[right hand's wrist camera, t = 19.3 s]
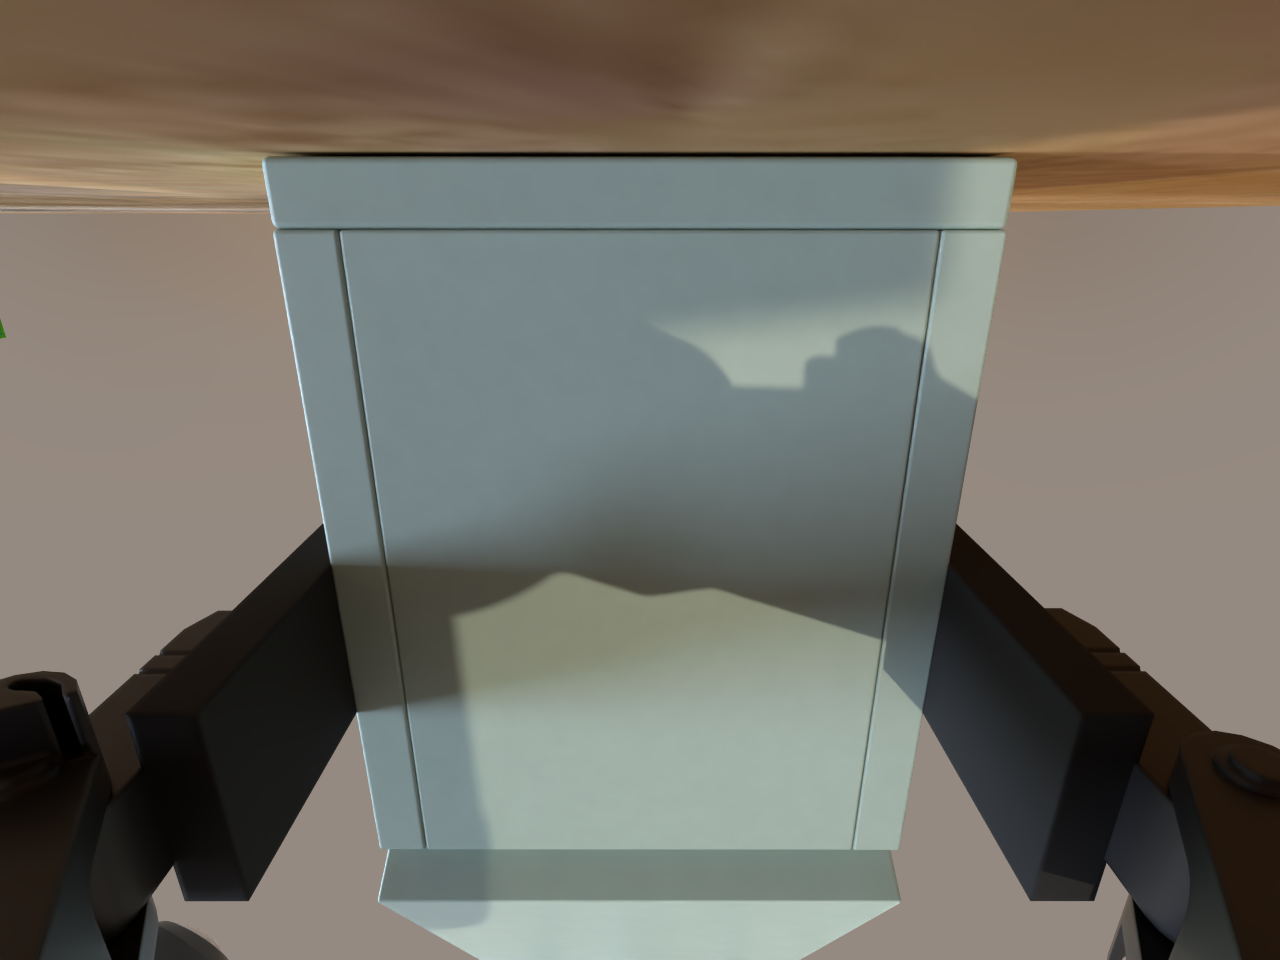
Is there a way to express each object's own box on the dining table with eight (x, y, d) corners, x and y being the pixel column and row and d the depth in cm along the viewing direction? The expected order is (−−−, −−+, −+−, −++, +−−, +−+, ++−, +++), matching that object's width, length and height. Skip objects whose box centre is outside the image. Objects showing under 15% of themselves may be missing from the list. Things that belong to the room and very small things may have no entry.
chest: (792, 197, 21) (768, 534, 25) (487, 197, 21) (511, 534, 25) (1022, 155, 8) (899, 851, 12) (256, 155, 8) (378, 851, 12)
